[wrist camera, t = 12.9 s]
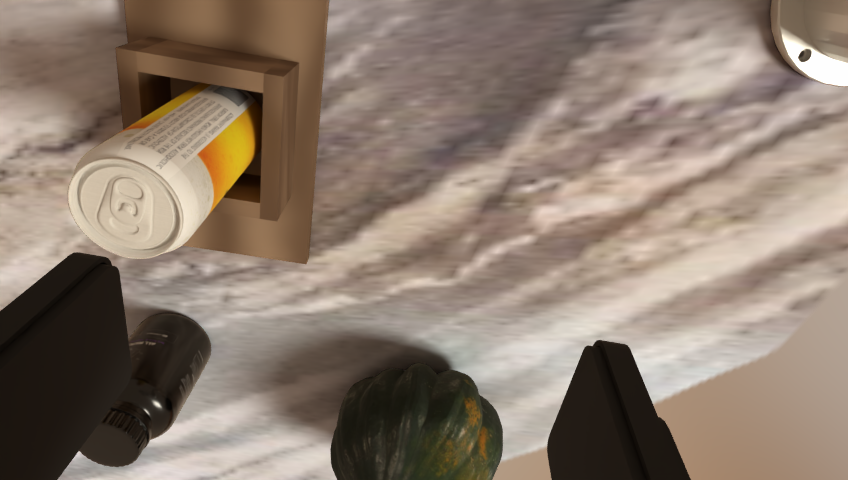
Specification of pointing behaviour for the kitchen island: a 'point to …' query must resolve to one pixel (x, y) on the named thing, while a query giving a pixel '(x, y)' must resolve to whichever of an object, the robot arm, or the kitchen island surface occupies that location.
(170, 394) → the supplement bottle
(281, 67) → the can caddy
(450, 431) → the squash
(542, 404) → the kitchen island surface
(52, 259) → the kitchen island surface
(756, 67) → the kitchen island surface
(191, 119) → the beer can
